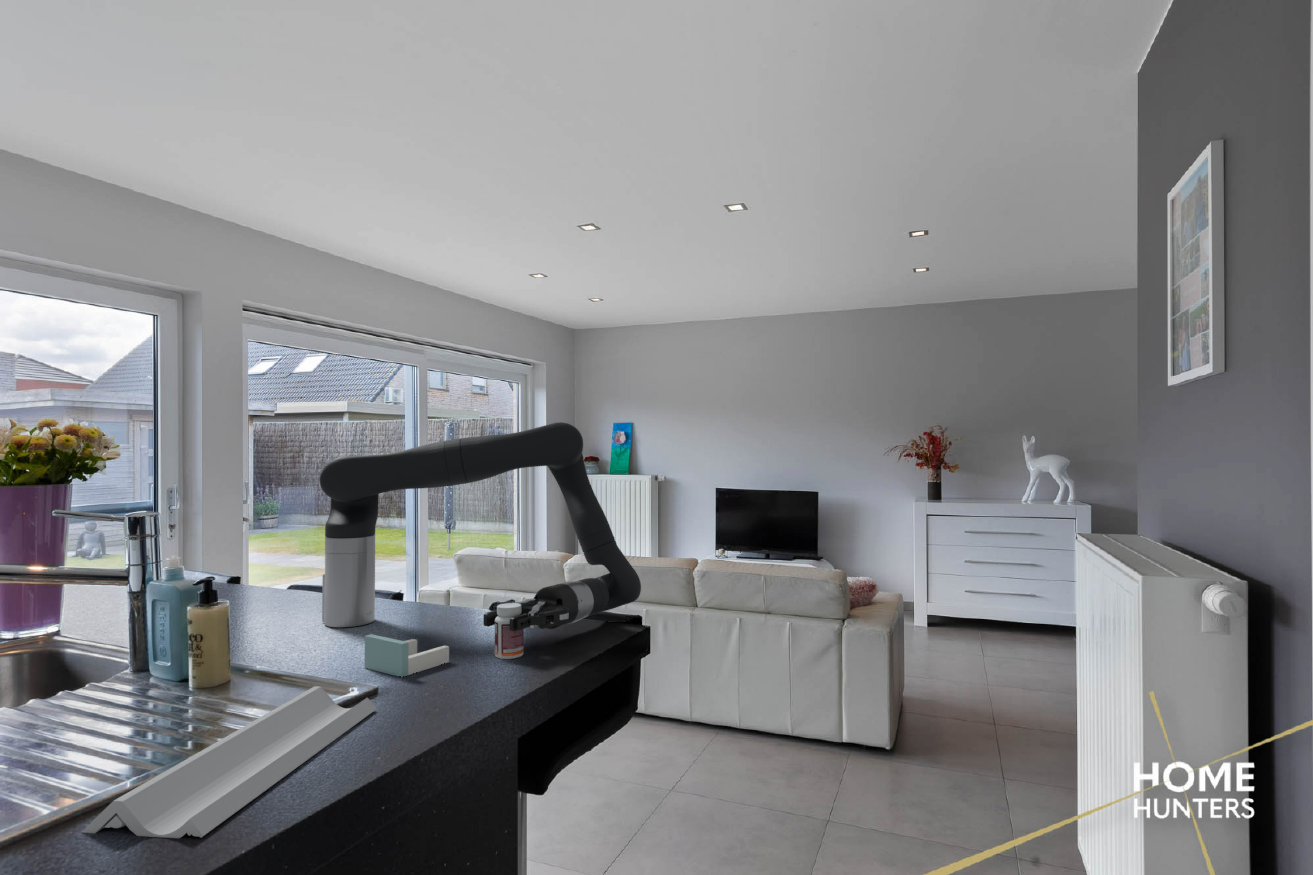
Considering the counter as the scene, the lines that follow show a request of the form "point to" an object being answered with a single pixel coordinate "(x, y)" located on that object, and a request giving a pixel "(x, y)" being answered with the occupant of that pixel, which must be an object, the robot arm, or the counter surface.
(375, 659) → the u-shaped bracket
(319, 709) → the crown molding
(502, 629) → the pill bottle
